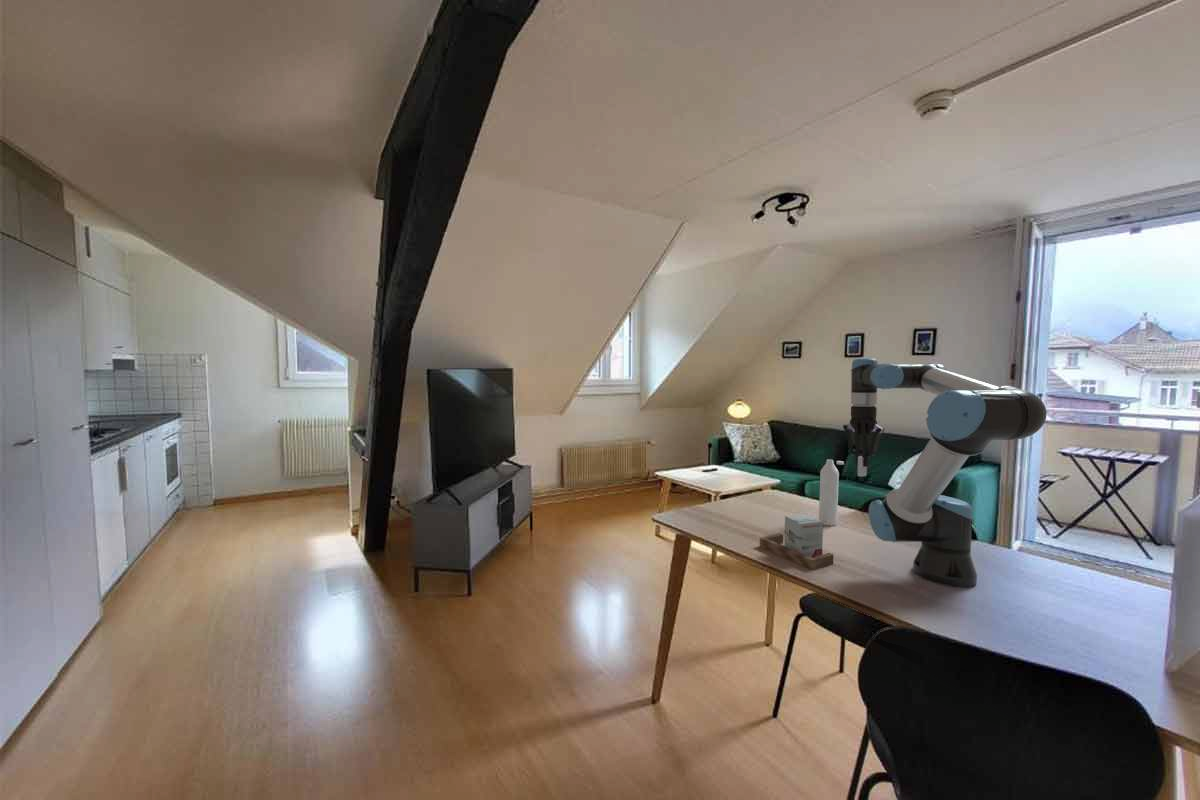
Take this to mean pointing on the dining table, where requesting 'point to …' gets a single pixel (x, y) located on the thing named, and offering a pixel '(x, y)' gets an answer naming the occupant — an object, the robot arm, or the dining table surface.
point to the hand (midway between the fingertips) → (862, 475)
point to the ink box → (804, 534)
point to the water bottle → (829, 493)
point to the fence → (794, 553)
